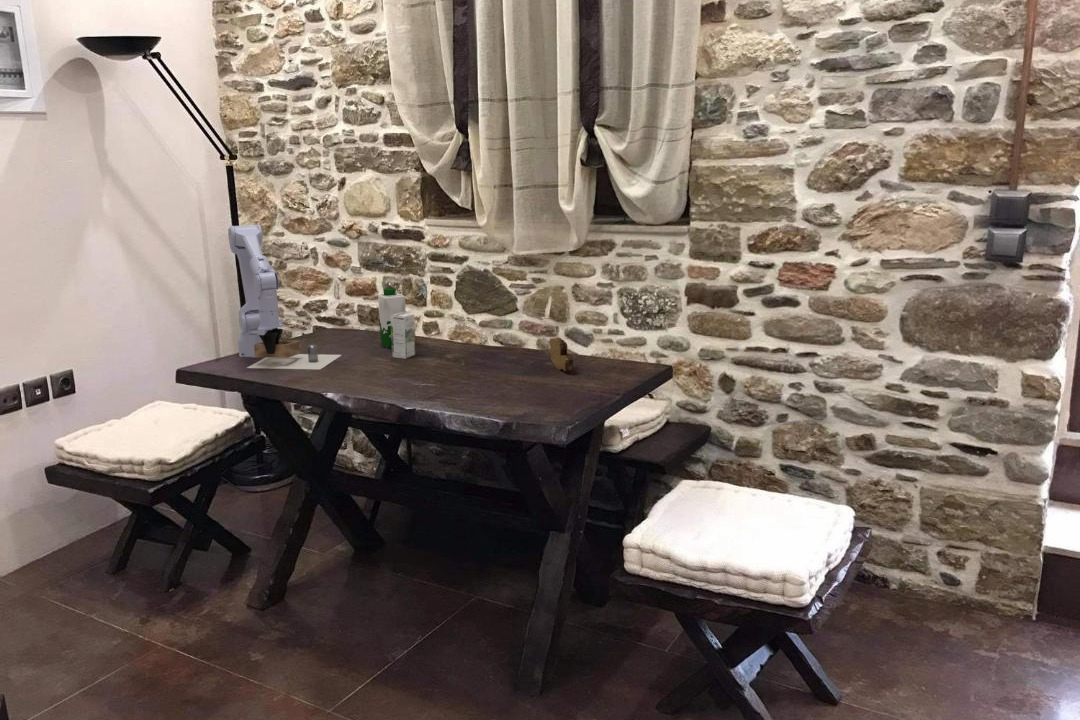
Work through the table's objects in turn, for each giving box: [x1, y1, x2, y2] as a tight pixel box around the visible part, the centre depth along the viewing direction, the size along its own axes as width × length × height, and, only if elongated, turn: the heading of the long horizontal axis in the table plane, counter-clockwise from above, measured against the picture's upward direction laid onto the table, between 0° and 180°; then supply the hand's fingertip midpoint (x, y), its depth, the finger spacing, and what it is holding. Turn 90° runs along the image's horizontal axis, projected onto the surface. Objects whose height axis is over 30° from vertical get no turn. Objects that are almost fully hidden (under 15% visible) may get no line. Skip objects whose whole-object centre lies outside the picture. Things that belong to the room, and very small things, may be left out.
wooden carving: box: [548, 336, 574, 372], centre depth 273 cm, size 16×5×10 cm, turn 23°
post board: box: [246, 344, 342, 370], centre depth 283 cm, size 24×20×6 cm
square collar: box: [254, 340, 303, 358], centre depth 282 cm, size 11×11×4 cm
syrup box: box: [391, 312, 416, 359], centre depth 291 cm, size 6×6×14 cm
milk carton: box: [377, 287, 407, 350], centre depth 307 cm, size 9×9×20 cm
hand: (272, 352), depth 277 cm, fingers closed on square collar, 2 cm apart
